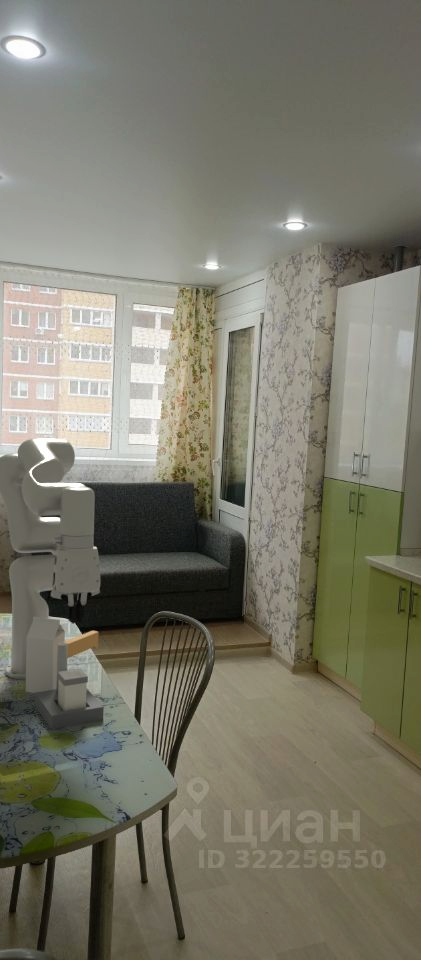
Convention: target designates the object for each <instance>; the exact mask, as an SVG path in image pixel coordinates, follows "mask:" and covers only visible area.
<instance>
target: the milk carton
mask: <svg viewBox="0 0 421 960" xmlns="http://www.w3.org/2000/svg"><path fill="white" fill-rule="evenodd" d="M60 621H61V619H59V618H58V619H57V618H39V617H33V622H32V625H31V627H30V630H29V632H28V634H27V647H26V679H25V693H32V694H35V692H42V691H48V690H54V689H56V688H57V644H58V643H62V642H65V641H66V632H65V629H64V628H63V626H62V625H61V622H60Z"/></svg>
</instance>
